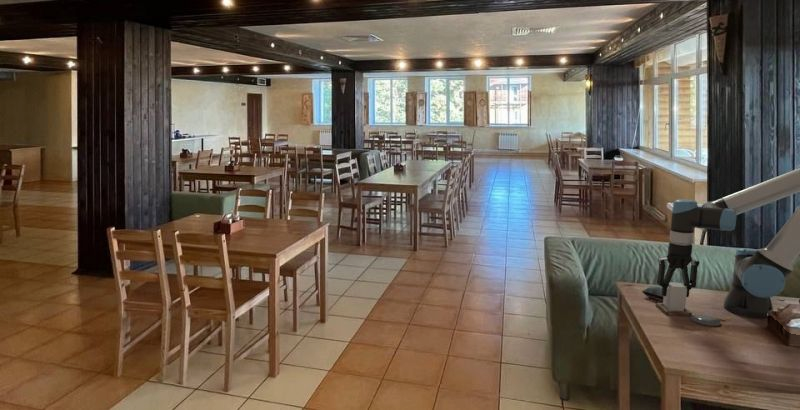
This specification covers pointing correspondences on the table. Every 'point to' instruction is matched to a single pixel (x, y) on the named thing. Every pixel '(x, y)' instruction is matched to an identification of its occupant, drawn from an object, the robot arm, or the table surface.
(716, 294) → the table surface
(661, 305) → the walnut holder
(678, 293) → the grey block
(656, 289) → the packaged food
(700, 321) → the grey disc
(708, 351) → the table surface
